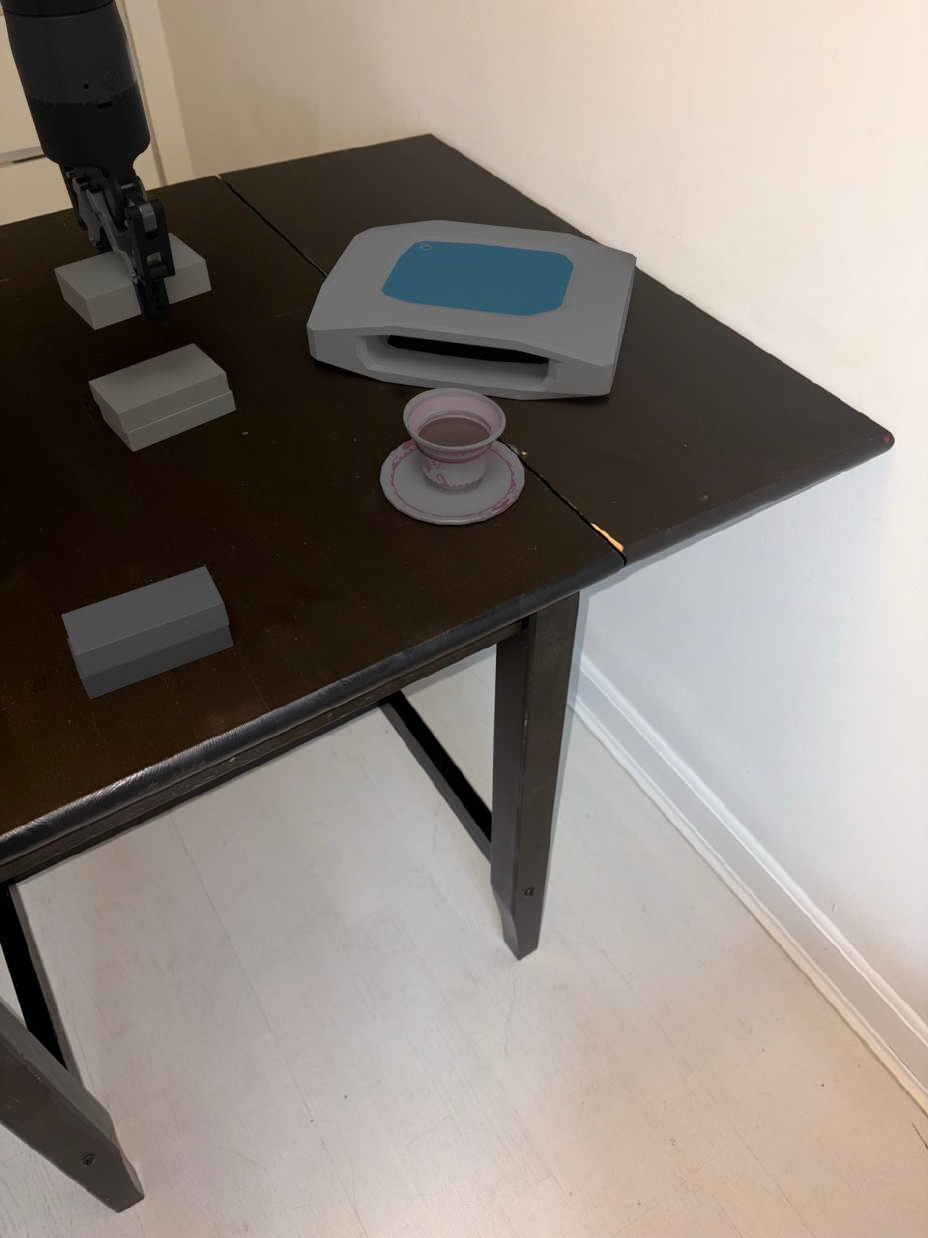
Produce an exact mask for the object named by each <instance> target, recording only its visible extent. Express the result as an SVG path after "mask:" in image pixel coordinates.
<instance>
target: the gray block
mask: <svg viewBox="0 0 928 1238" xmlns="http://www.w3.org/2000/svg"><path fill="white" fill-rule="evenodd" d="M61 618H62V622H63V624H64V627H65V630H66V633H67V636H68V637H67V638H66V641H67V644H68V647H69V649H70V652H71V656H72V658H73V661H74V664H75V668H76V671H77V673H78V676H79V679H80V681H81V683H82V686H83V689H84V690H85V692H86V694H87V696H88V698H89V700H92V699H96V698H98V697H101V696H104V695H105V694H109V693H112V692H115V691H117V690H119V689H122V688H125V687H128V686H130V685H133V684H136V683H138V682H141V681H144V680H146V679H149V678H152V677H154V676H157V675H160V674H163V673H165V672H168V671H171V670H173V669H176V668H179V667H181V666H184V665H187V664H189V663H193V662H195V661H198V660H199V659H203V658H205V657H208V656H211V655H213V654H217V653H220V652H223V651H224V650H227V649H230V648H233V647H234V646H235V645H234V641H233V637H232V633H231V630H230V626H229V625H230V620H229V616H228V613H227V609H226V605H225V601H224V600H223V597H222V596H221V594H220V592H219V590H218V587H217V586H216V583H215V582H214V580H213V578H212V576H211V574H210V572H209V570H208V567H206V565H204V566H200V567H198V568H194V569H192V570H189V571H186V572H183V573H180V574H177V575H175V576H171V577H169V578H168V577H167V578H165V579H162V580H159V581H157V582H154V583H150V584H147V585H144V586H142V587H138V588H135V589H134V590H133V589H132V590H130V591H128V592H124V593H121V594H118V595H115V596H113V597H109V598H106V599H104V600H101V601H98V602H95V603H91V604H89V605H85V606H82V607H80V608H77V609H74V610H70V611H69V612H66V613H65V612H64V613H62V614H61Z"/></svg>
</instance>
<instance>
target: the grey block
mask: <svg viewBox="0 0 928 1238" xmlns="http://www.w3.org/2000/svg"><path fill="white" fill-rule="evenodd" d="M88 386H89V388H90V391H91V394H92V397H93V400H94V403H96V404H97V405H98V407H99V409H100V412H101V416H102V419H103V421H104V422H105V423H106V424H107V425H108V426H109V428H111V429H112V431H113V432H114V433H115V434H116V435H117V437H119V439H120V440H121V441H122V442H123V443H124V444H125V445H126V447H128V449H130V451H131V452H132V453H134V452H137V451H139V450H142V449H145V448H147V447H149V446H151V445H154V444H157V443H159V442H161V441H164V440H166V439H169V438H171V437H174V436H176V435H179V434H181V433H184V432H186V431H188V430H191V429H193V428H196V427H198V426H200V425H203V424H205V423H206V424H207V423H208V422H210V421H213V420H216V419H218V418H220V417H223V416H225V415H227V414H230V413H232V412H235V411H237V409H236V403H235V397H234V394H233V391H232V390H231V389H230V387H229V382H228V378H227V373H226V371H225V370H224V369H223V368H222V367H221V366H220V365H219V364H217V363H216V362H215V361H214V360H213V359H212V358H211V357H210V356H209V355H207V354H206V353H205V352H204V351H203V350H202V349H200V347H199V346H197V345H196V344H195V343H194V342H193V343H190V344H186V345H185V346H183V347H179V348H177V349H174V350H171V351H168V352H166V353H163V354H159V355H158V356H155V357H152V358H149V359H146V360H144V361H141V362H138V363H136V364H132V365H129V366H127V367H125V368H122V369H119V370H116V371H113V372H111V373H109V374H106V375H103V376H100V377H96V378H95V379H92V380H89V381H88Z"/></svg>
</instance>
